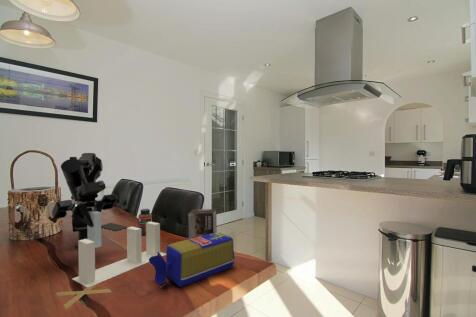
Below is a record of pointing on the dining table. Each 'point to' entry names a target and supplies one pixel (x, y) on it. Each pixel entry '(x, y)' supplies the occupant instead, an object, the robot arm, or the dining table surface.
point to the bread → (194, 259)
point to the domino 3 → (134, 245)
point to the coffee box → (202, 222)
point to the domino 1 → (86, 260)
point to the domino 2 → (95, 228)
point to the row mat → (115, 269)
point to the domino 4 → (152, 238)
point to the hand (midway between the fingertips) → (96, 225)
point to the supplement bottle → (144, 220)
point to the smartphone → (113, 227)
